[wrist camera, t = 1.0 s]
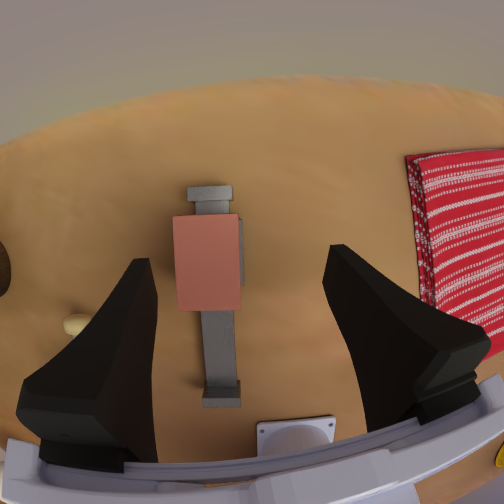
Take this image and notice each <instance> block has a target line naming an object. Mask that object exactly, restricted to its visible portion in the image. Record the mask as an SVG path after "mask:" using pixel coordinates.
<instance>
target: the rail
mask: <svg viewBox="0 0 504 504" xmlns="http://www.w3.org/2000/svg"><path fill="white" fill-rule="evenodd" d="M187 198H188V201H189V202H195V208H196V215H200V214H227V213H230V201H233V187H232V185H230V186H205V187H187ZM201 321H202V334H203V346H204V357H205V368H206V378H207V381H205V386H204V391H203V396H202V402H203V408H231V407H241V387H240V381H237V373H236V354H235V334H234V312H233V310H222V311H201Z"/></svg>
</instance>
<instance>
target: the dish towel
mask: <svg viewBox="0 0 504 504" xmlns="http://www.w3.org/2000/svg"><path fill="white" fill-rule="evenodd" d="M405 158H406V160H407V170H408V180H409V185H410V192H411V200H412V210H413V214H414V225H415V238H416V246H417V255H418V265H419V276H420V294H421V300H422V301H423V302H425V303H427V304H429V305H431V306H433V307H435V308H437V309H439V310H441V311H443V312H445V313H447V314H449V315H452V316H454V317H457V318H459V319H462V320H465V321H468V322H470V323H473V324H476V325H479V326H482V327H483V329H484V330H485V332H486V334H487V335H488V337H489V338H490V340H491V341H492V345H491V348H490V350H489V352H488V354H487V355H486V356H485V358H484V359H483V360H482V361H484V360H486V359H488V358H489V357H491V356H493V355H495V354H497V353H499V352H501V351H503V350H504V149H481V150H457V151H444V152H434V153H424V154H417V155H407V156H405ZM482 361H481V362H482ZM481 362H480V363H481Z"/></svg>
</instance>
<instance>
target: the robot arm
mask: <svg viewBox="0 0 504 504" xmlns="http://www.w3.org/2000/svg"><path fill="white" fill-rule="evenodd" d="M322 284H323V287H324V291H325V294H326V297H327V301H328V304H329V306H330V308H331V311H332V313H333V315H334V317H335V320H336V322H337V324H338V326H339V329H340V331H341V333H342V335H343V338H344V340H345V342H346V344H347V347H348V350H349V352H350V355H351V358H352V362H353V365H354V369H355V372H356V376H357V380H358V384H359V388H360V392H361V397H362V402H363V407H364V412H365V419H366V425H367V433H366V434H363V435H360V436H356V437H352V438H349V439H345V440H341V441H337V442H333V437H334V431H335V424H336V418H335V417H334V416H326V417H318V418H309V419H299V420H288V421H274V422H260V423H258V424H257V456H258V457H253V458H244V459H235V460H224V461H211V462H193V463H158V458H157V451H156V443H155V434H154V423H153V409H152V382H151V373H152V360H153V351H154V342H155V334H156V326H157V309H158V296H157V291H156V287H155V283H154V278H153V274H152V270H151V265H150V260H149V258H139V259H133V261H132V262H131V263H130V265H129V267H128V268H127V270H126V271H125V273H124V274H123V276H122V278H121V279H120V281H119V282H118V284H117V285H116V287H115V288H114V290H113V291H112V292H111V294H110V295H109V297H108V298H107V300H106V301H105V302H104V304H103V305H102V306H101V308H100V309H99V310H98V312H97V313H96V314H95V316H94V317H93V318H92V319H91V321H90V322H89V323H88V324H87V325H86V326H85V328H84V329H83V330H82V331H81V332H80V333H79V334H78V335H77V336H76V337H75V338H74V339H73V340H72V341H71V342H70V343H69V344H68V345H67V346H66V347H65V348H64V349H63V350H62V351H61V352H59V353H58V354H57V355H56V356H55V357H54V358H53V359H51V360H50V361H49V362H48V363H46V364H45V365H44V366H43V367H41V368H40V369H38V370H37V371H36V372H34V373H33V374H32V375H30V376H29V377H27V378H26V379H24V381H23V384H22V388H21V391H20V396H19V400H18V404H17V409H16V416H17V418H18V419H19V421H20V422H21V423H22V424H23V425H24V426H25V427H27V428H28V429H29V430H30V431H32V432H33V433H34V434H36V435H37V436H38V437H39V438H41V444H40V446H38V445H36V444H34V443H30V442H26V441H21V440H17V439H13V438H9V439H8V442H7V448H6V456H5V463H4V471H3V481H2V494H1V497H2V498H3V499H4V500H6V501H9V502H11V503H14V504H420V501H419V498H418V495H417V492H416V489H415V486H414V484H415V483H417V482H419V481H421V480H423V479H425V478H427V477H429V476H431V475H433V474H435V473H437V472H439V471H441V470H443V469H445V468H447V467H448V466H450V465H452V464H454V463H456V462H457V461H459V460H461V459H463V458H464V457H466V456H468V455H469V454H471V453H473V452H474V451H476V450H478V449H479V448H481V447H482V446H484V445H485V444H487V443H489V442H490V441H491V440H493V439H494V438H496V437H497V436H498V435H500V434H501V433H502V432H504V382H503V380H502V378H501V377H500V375H499V374H498V373H497V374H495V375H493V376H491V377H489V378H487V379H485V380H483V381H482V382H480V383H479V384H478V385H477V384H476V383H475V381H474V380H475V379H476V378H477V374H476V373H475V371H474V369H475V368H476V367H477V366H478V365H479V364H480V362H481V361H482V360H483V359H484V358H485V356H486V355H487V354H488V352H489V350H490V348H491V345H492V341H491V340H490V338H489V337H488V335H487V334H486V332H485V330H484V329H483V327H482V326H479V325H476V324H473V323H470V322H468V321H465V320H462V319H459V318H457V317H454V316H452V315H449V314H447V313H445V312H443V311H441V310H439V309H437V308H435V307H433V306H431V305H429V304H427V303H425V302H423V301H422V300H420V299H418V298H416V297H415V296H413V295H412V294H410V293H408V292H407V291H405V290H404V289H402V288H401V287H399V286H398V285H396V284H395V283H394V282H392V281H391V280H390V279H388V278H387V277H385V276H384V275H383V274H382V273H380V272H379V271H378V270H376V269H375V268H374V267H373V266H371V265H370V264H369V263H368V262H366V261H365V260H364V259H363V258H361V257H360V256H359V255H358V254H356V253H355V252H354V251H353V250H351V249H350V248H349V247H347V246H346V245H344V244H338V245H330V249H329V254H328V258H327V263H326V268H325V272H324V277H323V281H322ZM330 423H332V424H330ZM329 424H330V425H329ZM260 430H264V431H260ZM255 479H256V480H255ZM247 480H254V481H250V482H244V483H238V484H232V485H225V486H218V487H209V488H206V486H204V485H203V484H214V483H227V482H238V481H247Z"/></svg>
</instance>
